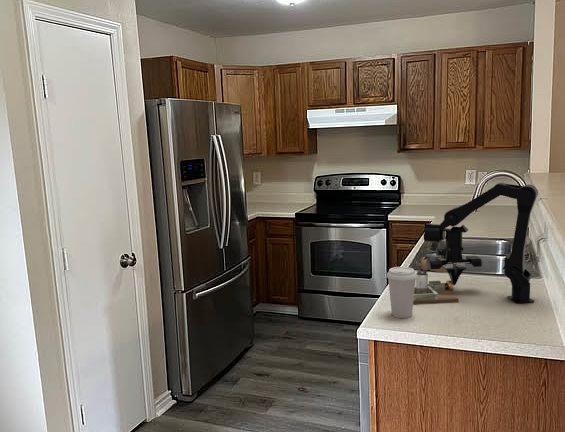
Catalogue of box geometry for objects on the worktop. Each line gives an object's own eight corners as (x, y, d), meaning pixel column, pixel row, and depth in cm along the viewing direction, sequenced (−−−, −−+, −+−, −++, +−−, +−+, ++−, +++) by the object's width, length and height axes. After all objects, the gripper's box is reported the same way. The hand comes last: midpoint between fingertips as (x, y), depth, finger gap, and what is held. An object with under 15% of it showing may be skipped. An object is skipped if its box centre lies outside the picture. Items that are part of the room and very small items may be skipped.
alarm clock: (453, 266, 211) (417, 259, 215) (451, 277, 212) (414, 270, 216) (451, 259, 222) (416, 253, 225) (449, 270, 223) (414, 263, 226)
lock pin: (452, 292, 184) (452, 282, 184) (427, 294, 184) (427, 283, 184) (448, 289, 188) (449, 279, 188) (424, 290, 188) (424, 280, 188)
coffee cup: (381, 315, 166) (380, 270, 164) (397, 307, 173) (397, 264, 170) (406, 322, 159) (406, 275, 157) (422, 313, 166) (422, 269, 164)
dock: (458, 302, 175) (458, 291, 175) (412, 304, 175) (412, 294, 175) (444, 289, 189) (444, 280, 189) (401, 292, 189) (401, 282, 189)
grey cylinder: (416, 297, 178) (417, 273, 176) (414, 293, 182) (415, 270, 180) (428, 297, 178) (428, 273, 176) (426, 293, 182) (426, 270, 180)
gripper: (471, 237, 192) (470, 277, 194) (421, 240, 192) (422, 280, 194) (483, 243, 181) (482, 286, 183) (430, 246, 181) (431, 289, 183)
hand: (453, 285), depth 186 cm, fingers closed
